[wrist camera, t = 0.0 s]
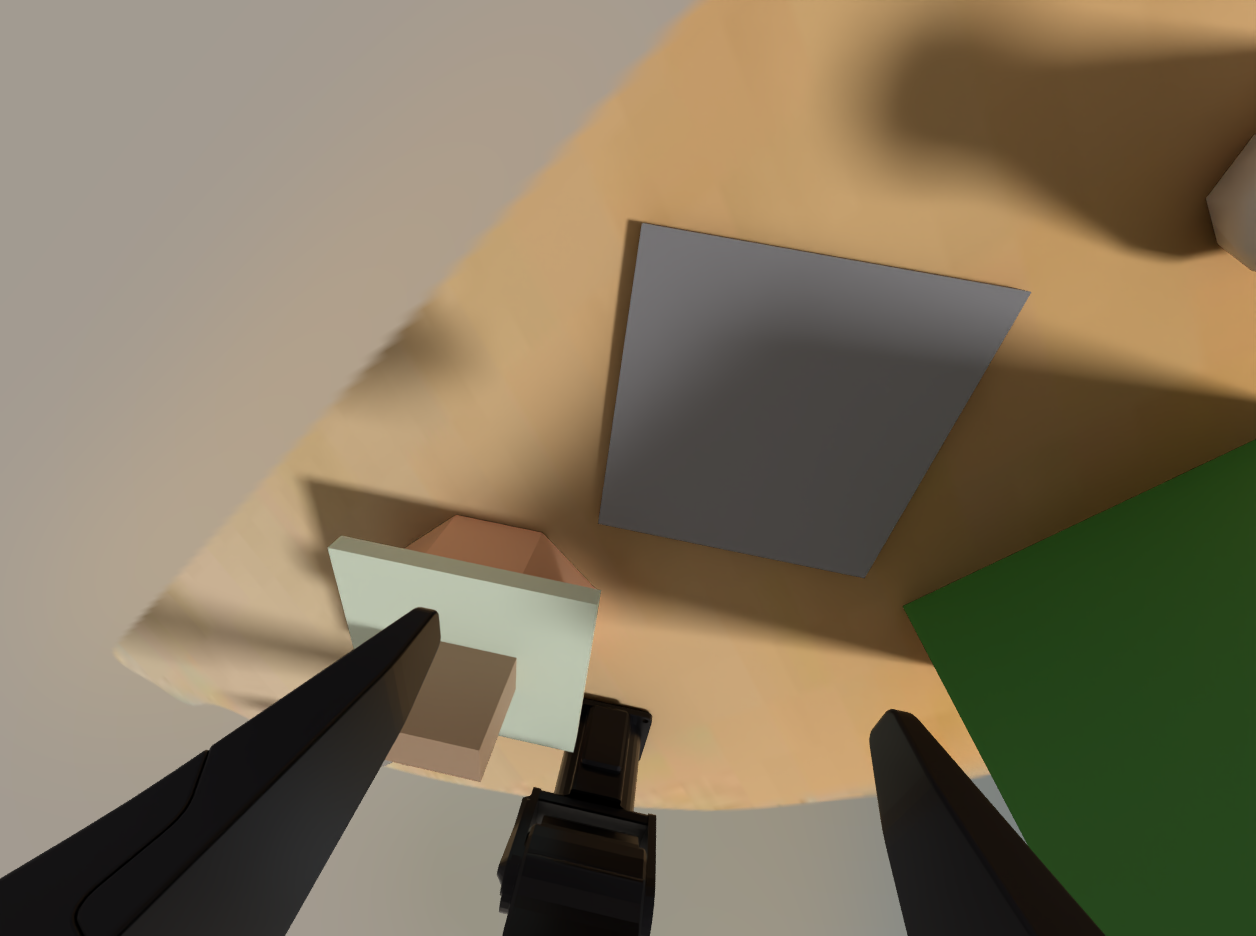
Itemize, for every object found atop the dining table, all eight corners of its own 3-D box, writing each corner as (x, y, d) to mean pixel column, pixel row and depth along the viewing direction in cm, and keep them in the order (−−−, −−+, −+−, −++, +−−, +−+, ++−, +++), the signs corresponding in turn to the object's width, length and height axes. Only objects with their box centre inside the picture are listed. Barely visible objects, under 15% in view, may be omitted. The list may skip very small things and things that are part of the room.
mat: (861, 570, 25) (864, 578, 24) (600, 517, 26) (598, 523, 25) (1021, 289, 17) (1031, 291, 17) (643, 222, 18) (642, 223, 17)
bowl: (583, 677, 33) (570, 731, 30) (416, 640, 34) (384, 689, 30) (604, 545, 26) (590, 594, 23) (395, 502, 27) (351, 544, 24)
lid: (576, 736, 30) (551, 846, 25) (378, 692, 30) (313, 789, 25) (601, 590, 23) (573, 700, 18) (341, 535, 23) (240, 626, 18)
